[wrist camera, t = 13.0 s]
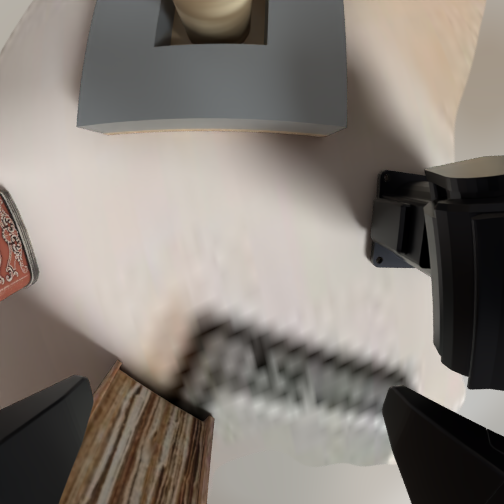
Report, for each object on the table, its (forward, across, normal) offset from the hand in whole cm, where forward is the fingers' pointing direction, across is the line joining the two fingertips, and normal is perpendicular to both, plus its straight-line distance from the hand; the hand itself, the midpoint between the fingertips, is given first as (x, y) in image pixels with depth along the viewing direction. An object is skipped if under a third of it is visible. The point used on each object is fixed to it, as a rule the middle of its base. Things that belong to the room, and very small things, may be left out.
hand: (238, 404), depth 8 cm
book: (+13, +13, +20) cm, 27 cm away
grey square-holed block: (+13, +2, -16) cm, 21 cm away
